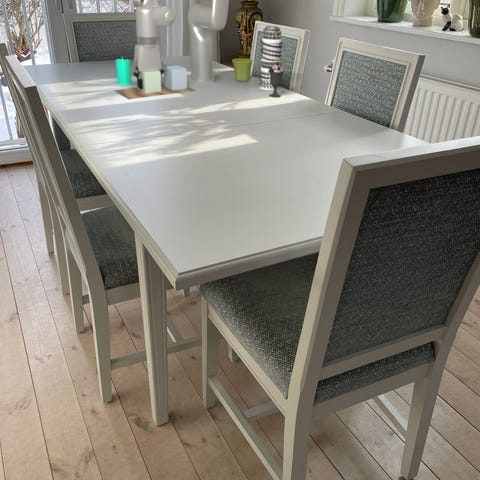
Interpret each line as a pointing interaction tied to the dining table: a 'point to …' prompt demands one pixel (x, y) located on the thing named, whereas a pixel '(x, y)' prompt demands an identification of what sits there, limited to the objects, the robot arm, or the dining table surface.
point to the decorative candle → (269, 54)
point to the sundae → (276, 77)
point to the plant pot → (242, 69)
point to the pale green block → (151, 82)
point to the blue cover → (175, 77)
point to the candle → (123, 71)
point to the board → (137, 93)
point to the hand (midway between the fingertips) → (149, 87)
